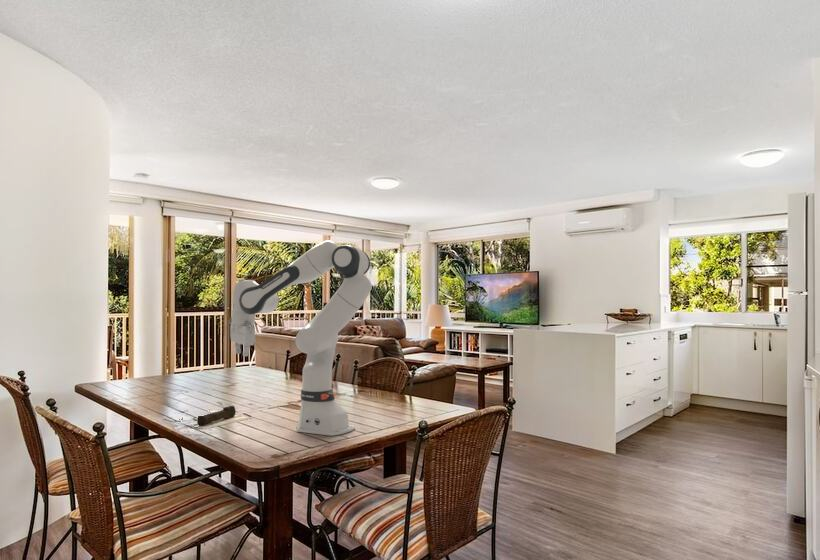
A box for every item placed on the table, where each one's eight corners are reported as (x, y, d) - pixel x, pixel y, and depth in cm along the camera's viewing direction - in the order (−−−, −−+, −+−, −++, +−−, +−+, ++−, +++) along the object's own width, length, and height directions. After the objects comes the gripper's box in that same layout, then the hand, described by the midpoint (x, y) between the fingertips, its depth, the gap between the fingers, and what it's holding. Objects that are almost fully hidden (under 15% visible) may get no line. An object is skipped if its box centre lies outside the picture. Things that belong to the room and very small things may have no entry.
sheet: (251, 420, 201) (251, 417, 201) (203, 431, 182) (203, 429, 182) (209, 411, 216) (209, 409, 216) (160, 421, 197) (160, 418, 197)
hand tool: (204, 427, 185) (204, 414, 186) (196, 425, 187) (196, 413, 187) (240, 416, 203) (240, 405, 203) (232, 415, 204) (233, 404, 205)
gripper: (259, 321, 191) (258, 357, 190) (243, 319, 207) (241, 351, 207) (243, 321, 187) (241, 358, 186) (228, 318, 204) (226, 352, 203)
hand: (241, 354), depth 197 cm, fingers open, 8 cm apart
